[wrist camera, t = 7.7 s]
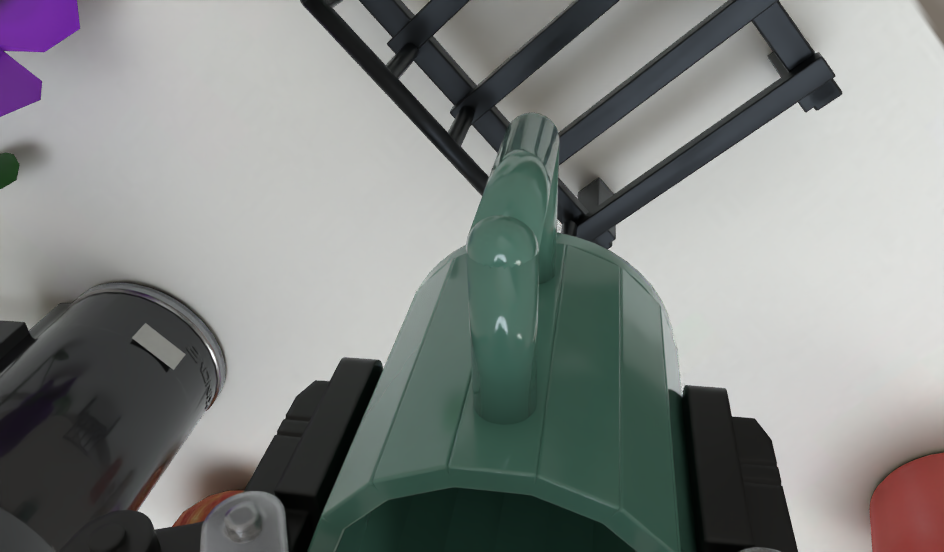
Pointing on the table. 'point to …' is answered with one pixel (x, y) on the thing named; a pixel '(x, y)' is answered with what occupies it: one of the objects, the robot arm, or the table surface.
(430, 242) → the table surface
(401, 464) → the green mug
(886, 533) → the flower pot
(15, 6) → the flower
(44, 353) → the robot arm
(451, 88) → the rack
